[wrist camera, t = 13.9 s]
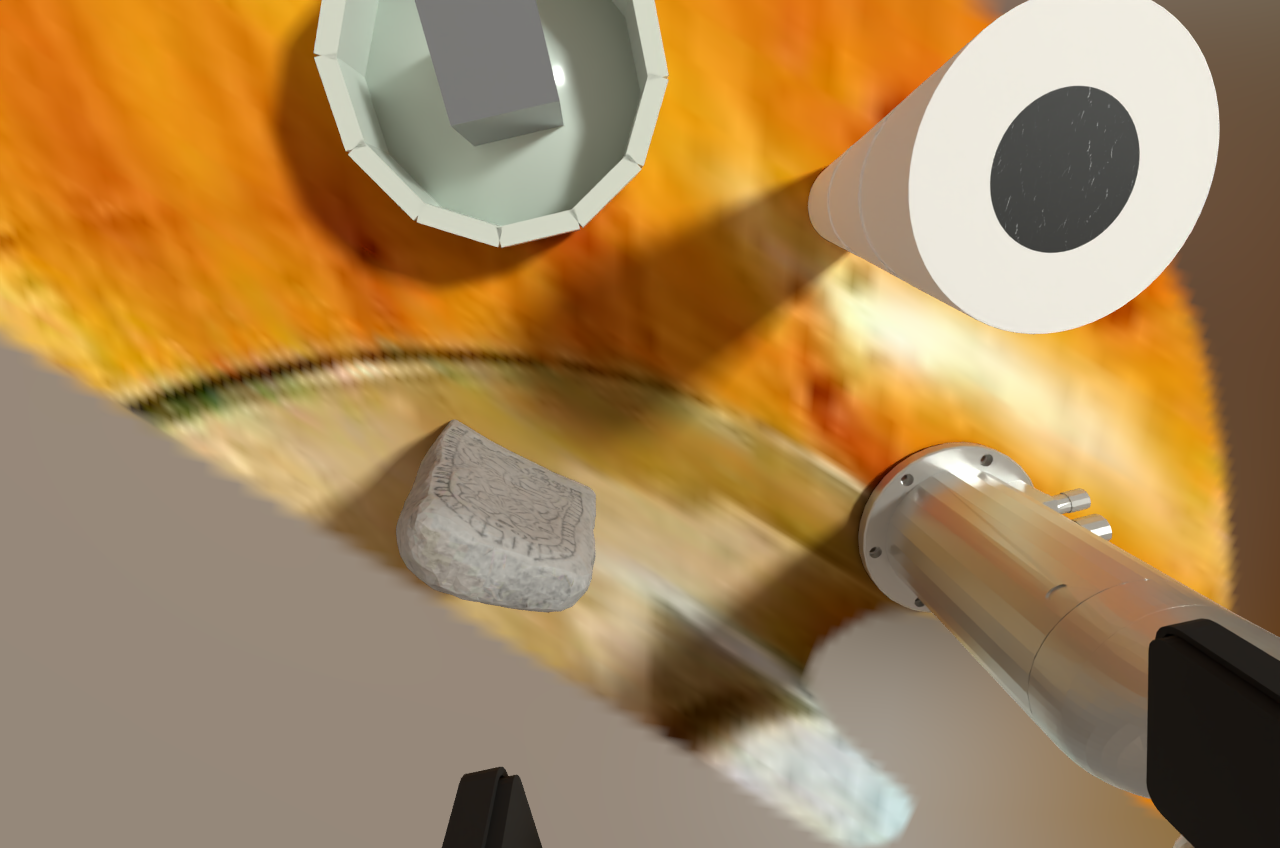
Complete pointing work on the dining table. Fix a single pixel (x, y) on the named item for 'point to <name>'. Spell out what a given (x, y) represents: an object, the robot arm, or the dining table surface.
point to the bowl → (507, 169)
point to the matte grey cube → (491, 67)
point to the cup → (1036, 166)
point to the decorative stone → (497, 526)
